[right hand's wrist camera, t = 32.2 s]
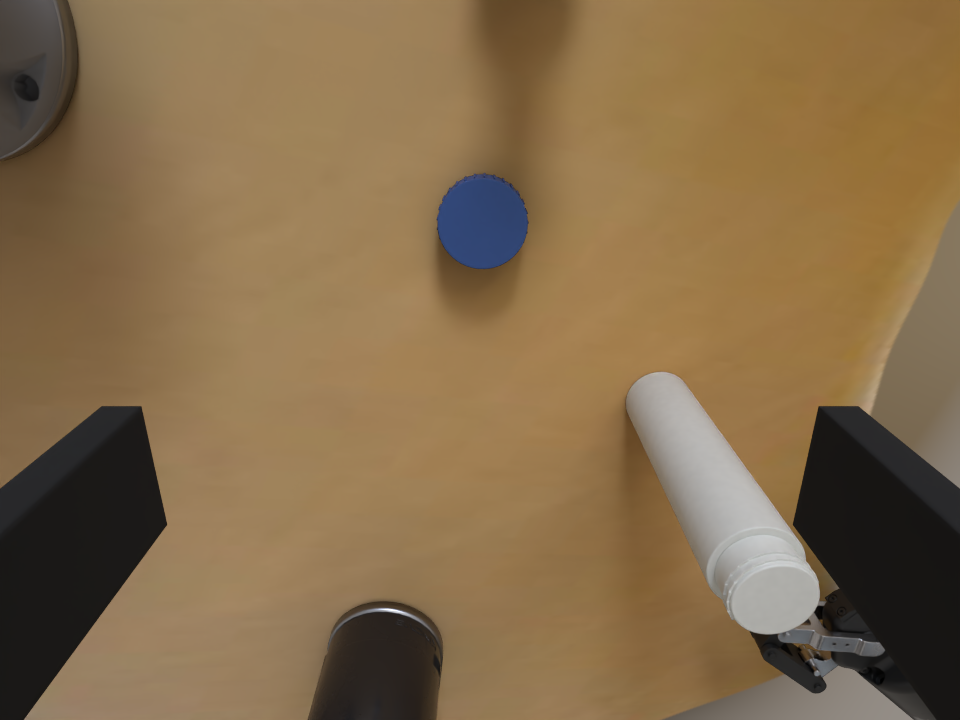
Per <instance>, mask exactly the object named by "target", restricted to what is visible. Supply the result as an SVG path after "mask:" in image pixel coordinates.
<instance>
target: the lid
mask: <svg viewBox="0 0 960 720" xmlns="http://www.w3.org/2000/svg"><path fill="white" fill-rule="evenodd" d="M442 201H443V202H442V204H440V207H439V210H440V211H439V214H438V217H437V220H438V227H437V230H438V233H439V238H440V240H441V242H442V244H443V246H444V248H445V249H446V251H447V252H448V253H449V254H450V255H451V256H452V257H453V258H454V259H455V260H456V261H458V262H460V263H461V264H463V265H465V266H468V267H471V268H476V269H489V268H494V267H497V266H500V265H502V264H504V263H506V262H507V261H509V260H510V259H511V258H512V257H514V256H515V255H516V253H517V252H518V251H519V249H520V248H521V246H522V245H523V243H524V240H525V237H526V234H527V226H528V220H527V214H528V213H527V210H526V208H525V207H524V204H525V203H524V201H523V199H521V198H520V194H519V192H518V190H517V191H516V190H515V189H514V188H513V186H512V184H511V183H510V184H509V183H508V182H506V181H504V178H502V179H501V178H499V177H496V176H495V175H494V174H493V176H492V175H486V174H485V173H484V174H479V175H476V174H474V175H473V176H469V177H465V178H464V179H462V180H461V181H459V182H458V181H457V182H456V184H455V185H454V186H453V187H452V188H449V190H448V193H447V194H446V196H445V195H444V197H443V200H442Z"/></svg>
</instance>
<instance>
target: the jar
mask: <svg viewBox="0 0 960 720" xmlns="http://www.w3.org/2000/svg"><path fill="white" fill-rule="evenodd" d="M626 409H627V413H628V415H629V417H630V419H631V421H632V423H633V426H634V428H635V430H636V432H637V434H638V436H639V438H640V440H641V443H642V445H643V447H644V449H645V451H646V453H647V455H648V457H649V460H650V462H651V464H652V466H653V468H654V470H655V472H656V474H657V477H658V479H659V481H660V483H661V485H662V487H663V489H664V491H665V494H666V496H667V498H668V500H669V502H670V504H671V506H672V508H673V511H674V513H675V515H676V517H677V519H678V521H679V523H680V525H681V528H682V530H683V532H684V534H685V536H686V538H687V540H688V542H689V545H690V547H691V549H692V551H693V553H694V555H695V557H696V559H697V562H698V564H699V566H700V568H701V570H702V572H703V574H704V576H705V579H706V581H707V583H708V585H709V587H710V588H711V590H712V591H713V592H714V594H716V595H717V596H718V597H719V598H721V599H722V600H723V603H724V605H725V607H726V609H727V611H728V613H729V615H730V617H731V619H732V620H734V619H735V621H736V622H737V623H738V624H739V625H741V626H742V627H743V628H745V629H747V630H749V631H751V632H754V633H759V634H778V633H783V632H786V631H789V630H791V629H794V628H796V627H797V626H799V625H801V624H802V623H804V622H805V621H806V620H807V619H808V618H809V617H810V616H811V615H812V614H813V612H814V611H815V609H816V607H817V605H818V603H819V598H820V590H819V581H818V579H817V577H816V574H815V572H814V571H813V570H812V569H811V567H810V565H809V564H808V563H807V562H806V557H805V552H804V548H803V547H802V545H801V543H800V542H799V540H798V539H797V537H796V536H795V535H794V533H793V532H792V531H791V529H790V528H789V526H788V525H787V524H786V522H785V521H784V520H783V518H782V517H781V515H780V514H779V513H778V511H777V510H776V508H775V507H774V506H773V504H772V503H771V502H770V500H769V499H768V497H767V496H766V495H765V493H764V492H763V490H762V489H761V488H760V486H759V485H758V484H757V482H756V481H755V479H754V478H753V477H752V475H751V474H750V472H749V471H748V470H747V468H746V467H745V466H744V464H743V463H742V461H741V460H740V459H739V457H738V456H737V454H736V453H735V452H734V450H733V449H732V448H731V446H730V445H729V443H728V442H727V441H726V439H725V438H724V436H723V435H722V434H721V432H720V431H719V430H718V428H717V427H716V425H715V424H714V423H713V421H712V420H711V418H710V417H709V416H708V414H707V413H706V412H705V410H704V409H703V407H702V406H701V405H700V403H699V402H698V400H697V399H696V398H695V396H694V395H693V394H692V392H691V391H690V389H689V388H688V387H687V385H686V384H685V383H684V381H683V380H682V379H681V378H679V377H678V376H676V375H674V374H671V373H667V372H655V373H650V374H648V375H645V376H643V377H641V378H640V379H639V380H637V381H636V382H635V383H634V384H633V385H632V387H631V388H630V390H629V392H628V394H627V398H626Z"/></svg>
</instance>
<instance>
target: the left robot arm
mask: <svg viewBox="0 0 960 720" xmlns="http://www.w3.org/2000/svg"><path fill="white" fill-rule="evenodd" d="M825 599H826V600H827V601H819V603H818V605H817V607H816V609H815V611H814V612H813V614H812V615H811V616H810V617H809V618H808V619H807V620H806V621H805V622H804V623H802V624H801V625H799V626H797V627H796V628H794V629H791V630H789V631H786V632H783V633H778V634H759V633H754V632H751V631H750V633H751V635H752V637H753V638H754V639H755V641H756V643H757V645H758V647H759V649H760V652H761V655H762V657H763V658H764V660H765V661H767V662H768V663H770V664H771V665H773V666H774V667H775V668H777V669H778V670H780V671H781V672H783V673H784V674H786V675H787V676H789V677H790V678H791V679H793V680H794V681H796V682H797V683H799V684H800V685H802V686H803V687H805V688H806V689H808V690H809V691H811V692H812V693H821V692H822V691H824V690H825V689H826V683H825V681H824V680H823V678H822V677H824V676H825V675H826V674H827V673H829V672H830V671H832V670H833V669H834V668H836V667H837V666H838V665H839V666H841V667H844V668H850V669H853V670H855V671H857V672H858V673H859V674H860V675H861V676H862V677H863V678H864V679H866V680H867V681H868V682H869V683H871V684H872V685H873V686H874V687H875V688H877V689H878V690H879V691H880V692H881V693H883V694H884V695H885V696H886V697H887V698H889V699H890V700H891V701H892V702H893V703H895V704H896V705H897V706H898V707H899V708H901V709H902V710H903V711H904V712H905V713H906V714H908V715H909V716H910V717H911V718H912V719H914V720H936V719H935V717H934V716H933V714H932V713H931V712H930V710H929V709H928V708H927V706H926V705H925V704H924V702H923V701H922V700H921V698H920V697H919V695H918V694H917V693H916V691H915V690H914V689H913V687H912V686H911V685H910V683H909V682H908V681H907V679H906V678H905V676H904V675H903V674H902V672H901V671H900V670H899V668H898V667H897V666H896V664H895V663H894V661H893V660H892V659H891V657H890V656H889V655H888V653H887V652H886V651H885V649H884V648H883V647H882V645H881V644H880V642H879V641H878V640H877V638H876V637H875V636H874V634H873V633H872V632H871V630H870V629H869V628H868V626H867V625H866V623H865V622H864V621H863V619H862V618H861V617H860V615H859V614H858V613H857V611H856V610H855V608H854V607H853V606H852V604H851V603H850V602H849V600H848V599H847V598H846V596H845V595H844V594H843V592H842V591H841V589H838V590H836V591H834V592H832V593H831V594H829V595H828V596H827V597H825ZM819 619H822V620H823V625H822V624H821V622H820V621H819ZM792 643H801V644H809V645H811V646H812V647H813V648H815V649H817V650H821V651H814V650H812V649H806V647H805V645H800V646H799V647H797V646H795V645H794V644H792ZM442 653H443V642H442V638H441V635H440V632H439V630H438V629H437V627H436V625H435V624H434V623H433V622H432V621H431V620H430V619H429V618H428V617H427V616H426V615H424V614H423V613H422V612H420V611H418V610H416V609H414V608H412V607H410V606H407V605H404V604H400V603H394V602H372V603H367V604H363V605H360V606H358V607H355V608H353V609H352V610H350V611H348V612H347V613H345V614H344V615H343V616H342V617H341V618H340V619H339V620H338V621H337V623H336V624H335V626H334V628H333V630H332V633H331V636H330V640H329V644H328V652H327V655H326V656H325V659H324V663H323V666H322V670H321V674H320V677H319V681H318V684H317V688H316V692H315V695H314V699H313V702H312V706H311V710H310V713H309V717H308V720H437V705H438V691H439V686H440V681H439V677H440V678H441V672H440V666H441V669H442V664H441V663H442V660H443V656H442Z"/></svg>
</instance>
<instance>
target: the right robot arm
mask: <svg viewBox="0 0 960 720" xmlns="http://www.w3.org/2000/svg"><path fill="white" fill-rule="evenodd" d="M76 74H77V41H76V32H75V27H74V22H73V17H72V14H71V10H70V7H69V3H68V0H0V161H3V160H7V159H10V158H13V157H16V156H19V155H21V154H23V153H25V152H27V151H29V150H31V149H32V148H34V147H35V146H37V145H38V144H39V143H41V142H42V141H43V140H44V139H45V138H46V137H47V136H48V135H49V134H50V133H51V132H52V131H53V130H54V129H55V127H56V126H57V125H58V123H59V122H60V120H61V119H62V117H63V115H64V113H65V111H66V109H67V107H68V104H69V102H70V100H71V96H72V93H73V89H74V86H75V80H76ZM166 526H167V522H166V517H165V513H164V508H163V503H162V499H161V494H160V490H159V485H158V481H157V476H156V471H155V467H154V462H153V458H152V453H151V449H150V444H149V439H148V435H147V430H146V426H145V421H144V416H143V412H142V407H141V406H102V407H100V408H99V409H98V410H97V411H95V412H94V413H93V414H92V415H91V416H89V417H88V418H87V419H86V420H84V421H83V422H82V423H81V424H79V425H78V426H77V427H76V428H74V429H73V430H72V431H71V432H70V433H68V434H67V435H66V436H65V437H63V438H62V439H61V440H60V441H58V442H57V443H56V444H55V445H54V446H52V447H51V448H50V449H49V450H47V451H46V452H45V453H44V454H42V455H41V456H40V457H39V458H38V459H36V460H35V461H34V462H33V463H31V464H30V465H29V466H28V467H26V468H25V469H24V470H23V471H21V472H20V473H19V474H18V475H17V476H15V477H14V478H13V479H12V480H10V481H9V482H8V483H7V484H5V485H4V486H3V487H2V488H1V489H0V720H24V719H25V717H26V716H27V714H28V713H29V712H30V710H31V709H32V708H33V706H34V705H35V704H36V702H37V701H38V700H39V698H40V697H41V695H42V694H43V693H44V691H45V690H46V689H47V687H48V686H49V685H50V683H51V682H52V681H53V679H54V678H55V676H56V675H57V674H58V672H59V671H60V670H61V668H62V667H63V666H64V664H65V663H66V661H67V660H68V659H69V657H70V656H71V655H72V653H73V652H74V651H75V649H76V648H77V647H78V645H79V644H80V642H81V641H82V640H83V638H84V637H85V636H86V634H87V633H88V632H89V630H90V629H91V628H92V626H93V625H94V623H95V622H96V621H97V619H98V618H99V617H100V615H101V614H102V613H103V611H104V610H105V608H106V607H107V606H108V604H109V603H110V602H111V600H112V599H113V598H114V596H115V595H116V594H117V592H118V591H119V589H120V588H121V587H122V585H123V584H124V583H125V581H126V580H127V579H128V577H129V576H130V574H131V573H132V572H133V570H134V569H135V568H136V566H137V565H138V564H139V562H140V561H141V560H142V558H143V557H144V555H145V554H146V553H147V551H148V550H149V549H150V547H151V546H152V545H153V543H154V542H155V541H156V539H157V538H158V536H159V535H160V534H161V532H162V531H163V530H164V528H165V527H166ZM793 526H794V527H795V528H796V530H797V531H798V532H799V534H800V535H801V536H802V538H803V539H804V541H805V542H806V543H807V545H808V546H809V547H810V549H811V550H812V551H813V553H814V554H815V555H816V557H817V558H818V560H819V561H820V562H821V564H822V565H823V566H824V568H825V569H826V570H827V572H828V573H829V574H830V576H831V577H832V579H833V580H834V581H835V583H836V584H837V585H838V587H839V588H840V589H841V591H842V592H843V594H844V595H845V596H846V598H847V599H848V600H849V602H850V603H851V604H852V606H853V607H854V608H855V610H856V611H857V613H858V614H859V615H860V617H861V618H862V619H863V621H864V622H865V623H866V625H867V626H868V628H869V629H870V630H871V632H872V633H873V634H874V636H875V637H876V638H877V640H878V641H879V642H880V644H881V645H882V647H883V648H884V649H885V651H886V652H887V653H888V655H889V656H890V657H891V659H892V660H893V661H894V663H895V664H896V666H897V667H898V668H899V670H900V671H901V672H902V674H903V675H904V676H905V678H906V679H907V681H908V682H909V683H910V685H911V686H912V687H913V689H914V690H915V691H916V693H917V694H918V695H919V697H920V698H921V700H922V701H923V702H924V704H925V705H926V706H927V708H928V709H929V710H930V712H931V713H932V714H933V716H934V717H935V719H936V720H960V489H959V488H958V487H957V486H956V485H955V484H953V483H952V482H951V481H950V480H948V479H947V478H946V477H945V476H943V475H942V474H941V473H940V472H938V471H937V470H936V469H935V468H934V467H932V466H931V465H930V464H929V463H927V462H926V461H925V460H924V459H922V458H921V457H920V456H919V455H918V454H916V453H915V452H914V451H913V450H911V449H910V448H909V447H908V446H906V445H905V444H904V443H903V442H901V441H900V440H899V439H898V438H897V437H895V436H894V435H893V434H892V433H890V432H889V431H888V430H887V429H886V428H884V427H883V426H882V425H881V424H879V423H878V422H877V421H876V420H874V419H873V418H872V417H871V416H869V415H868V414H867V413H866V412H865V411H863V410H862V409H861V408H860V407H858V406H819V407H818V412H817V416H816V421H815V426H814V430H813V435H812V439H811V444H810V448H809V453H808V458H807V462H806V467H805V471H804V476H803V481H802V485H801V490H800V494H799V499H798V503H797V508H796V513H795V517H794V522H793Z"/></svg>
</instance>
